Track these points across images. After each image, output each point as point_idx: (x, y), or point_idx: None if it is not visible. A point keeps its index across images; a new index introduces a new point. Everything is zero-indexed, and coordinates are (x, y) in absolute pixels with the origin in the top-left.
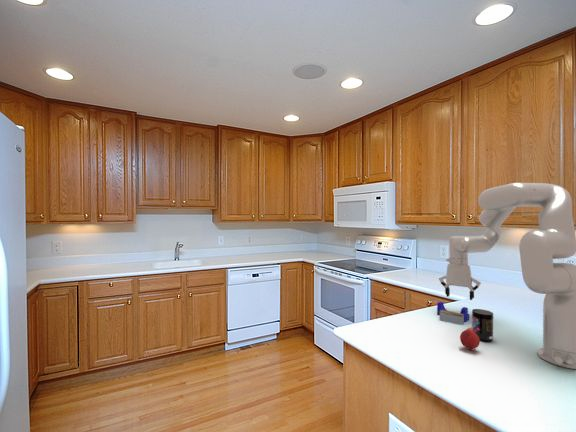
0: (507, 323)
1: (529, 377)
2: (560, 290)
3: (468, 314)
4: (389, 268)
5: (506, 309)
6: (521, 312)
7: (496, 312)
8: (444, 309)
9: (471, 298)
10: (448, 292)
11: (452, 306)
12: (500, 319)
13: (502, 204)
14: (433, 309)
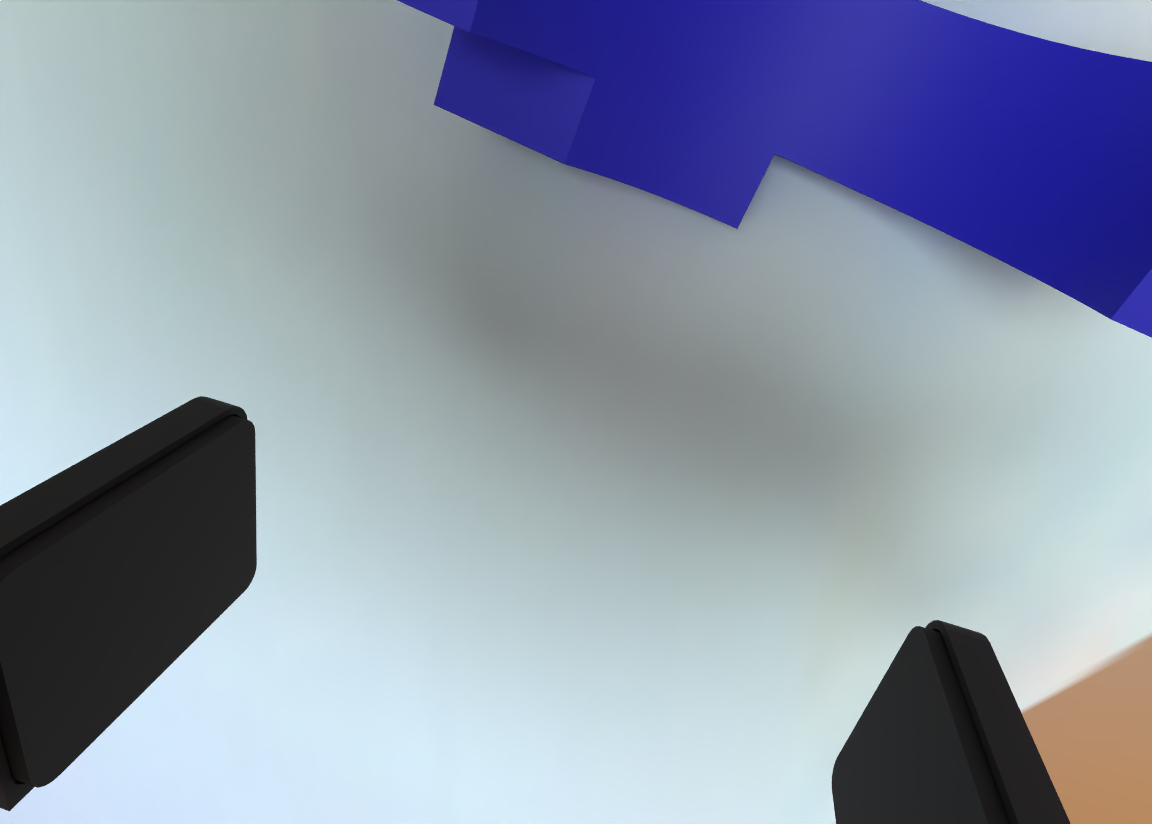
0: (15, 241)
1: None
2: None
3: (448, 60)
4: None
5: (134, 794)
6: None
7: (194, 669)
8: (1018, 170)
9: (174, 425)
10: (931, 785)
11: (711, 777)
12: (112, 394)
13: None
14: (1135, 524)
